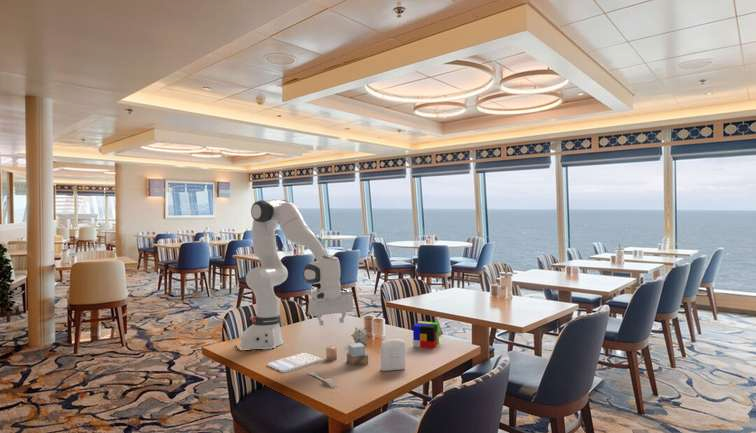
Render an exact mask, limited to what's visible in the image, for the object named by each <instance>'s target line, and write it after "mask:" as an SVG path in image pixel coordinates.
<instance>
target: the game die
mask: <svg viewBox="0 0 756 433" xmlns="http://www.w3.org/2000/svg"><path fill="white" fill-rule="evenodd" d="M354 328H355V330H354V332H353V334H351V335H350V337H352V338H353V341H354V343H362V344H363V345H364V346H366V342H367V339H369V337H370V335H368V334H367V330H366V327H364V328H357V327H354Z"/></svg>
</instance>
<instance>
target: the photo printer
mask: <svg viewBox="0 0 756 433" xmlns="http://www.w3.org/2000/svg"><path fill="white" fill-rule="evenodd" d="M405 369H406V345H405V340H403V339H401V338H388V339H385V340H383V341H381V342H380V370H381V371H382V372H385V371H386V372H387V371H398V370H399V371H400V370H405Z"/></svg>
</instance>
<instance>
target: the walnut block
mask: <svg viewBox="0 0 756 433" xmlns="http://www.w3.org/2000/svg"><path fill="white" fill-rule="evenodd" d="M346 362H347V363H348V364H349V365H351V367H358V366H365V365H368V364H369V355H368V354H367V353H366V352H365V355H364V356H357V357H352V356H351V355H350V354H349V353H348V352H347V353H346Z"/></svg>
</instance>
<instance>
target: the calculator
mask: <svg viewBox="0 0 756 433" xmlns="http://www.w3.org/2000/svg"><path fill="white" fill-rule="evenodd" d="M322 361H323V359H322V358H321V357H319V356H316V355H313V354H310V353H309V352H308V353H307V352H301V353H298V354H294V355H291V356H287V357H283V358H280V359H277V360H276V359H275V360H273V361H270V362H269V361H268V362H267V364H266V366H267V365H268V366H270V367H272V368H271V369H273V368H274V369H273V370H275V369H276V370H275V371H277V370H279V371H281V372H280V373H282V372H286V373H289V372H292V371H291V370H293V371H296V370H298V368H299V369H302V368H305V366H306V367H308V366H312V365H315V364H319V363H321V362H322ZM268 366H267V367H268ZM270 367H269V368H270ZM295 369H296V370H295ZM279 371H278V372H279ZM288 371H289V372H288Z"/></svg>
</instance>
